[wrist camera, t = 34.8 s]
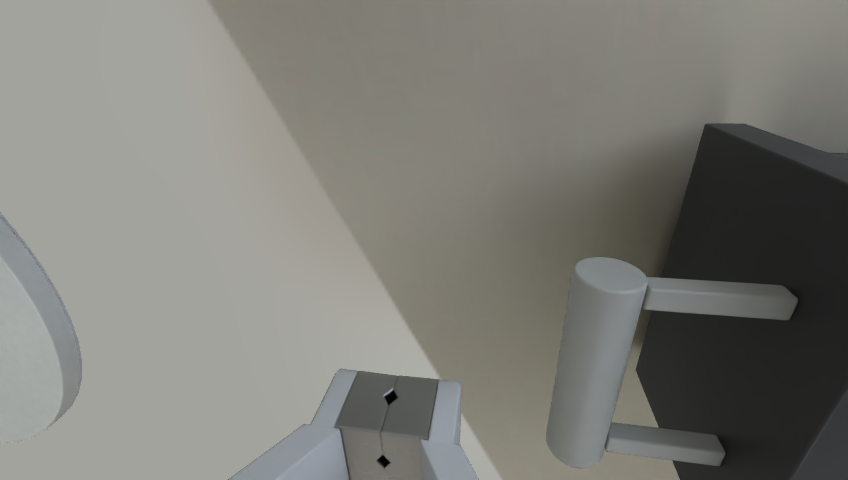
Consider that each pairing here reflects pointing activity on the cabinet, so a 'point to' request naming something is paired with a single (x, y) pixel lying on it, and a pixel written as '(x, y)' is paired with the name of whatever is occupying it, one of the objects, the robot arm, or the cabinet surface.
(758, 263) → the drawer
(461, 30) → the cabinet surface
